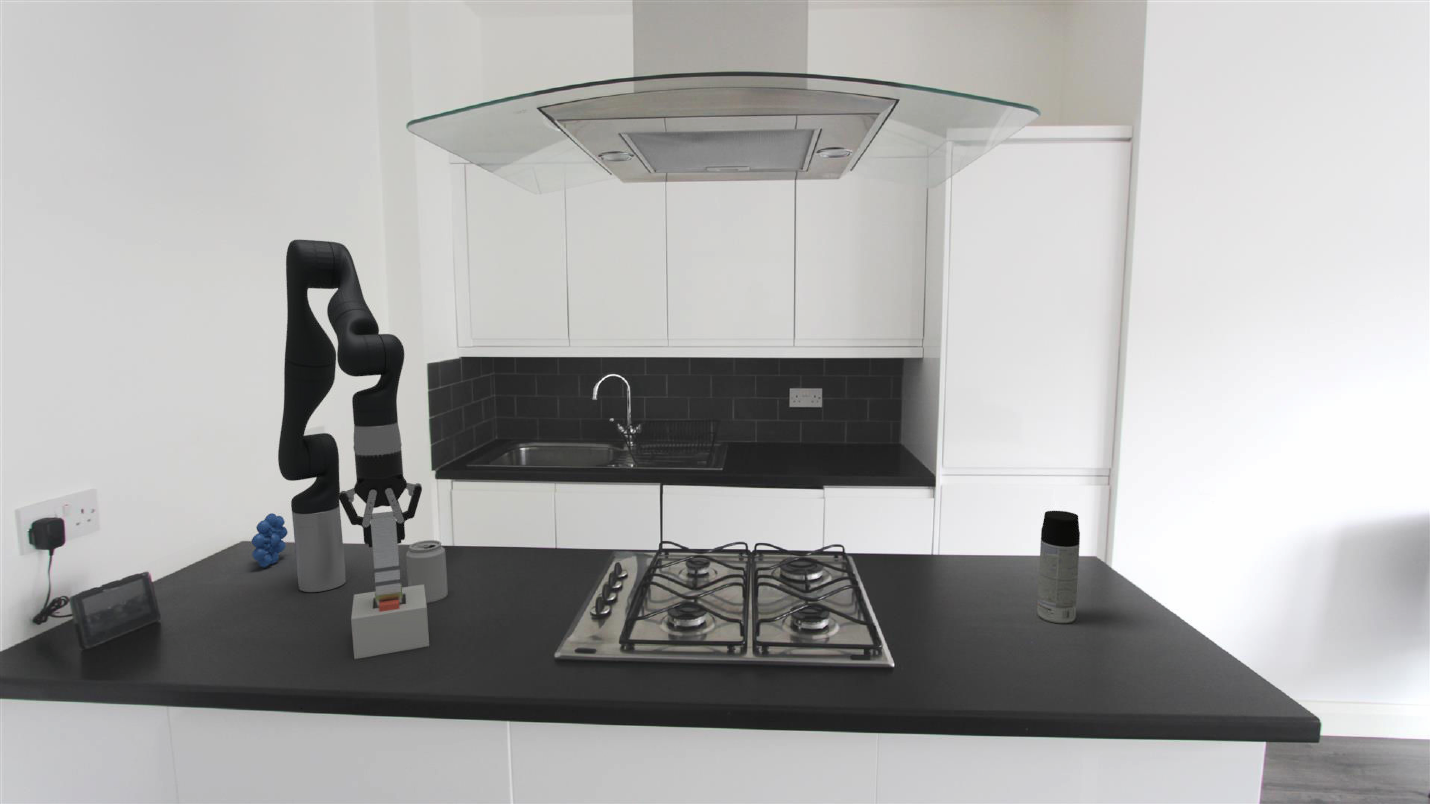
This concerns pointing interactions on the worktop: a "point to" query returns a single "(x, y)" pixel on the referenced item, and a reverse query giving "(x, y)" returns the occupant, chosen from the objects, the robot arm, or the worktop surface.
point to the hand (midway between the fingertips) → (385, 543)
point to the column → (386, 558)
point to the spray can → (1058, 567)
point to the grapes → (269, 540)
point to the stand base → (389, 623)
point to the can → (428, 568)
